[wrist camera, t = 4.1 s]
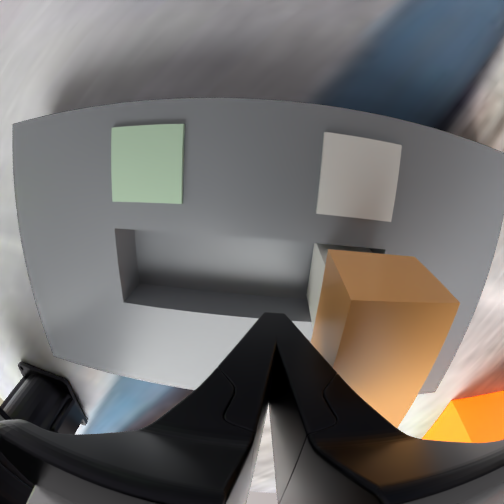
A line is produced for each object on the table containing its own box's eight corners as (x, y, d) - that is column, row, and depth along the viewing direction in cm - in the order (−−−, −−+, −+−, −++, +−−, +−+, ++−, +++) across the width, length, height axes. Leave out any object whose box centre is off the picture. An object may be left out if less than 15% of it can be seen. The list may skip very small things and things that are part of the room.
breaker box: (75, 331, 18) (52, 357, 15) (47, 121, 13) (10, 124, 10) (419, 362, 17) (436, 394, 14) (478, 150, 12) (515, 157, 9)
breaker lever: (297, 313, 15) (309, 435, 8) (311, 214, 13) (351, 299, 6) (354, 316, 14) (395, 429, 8) (375, 221, 13) (460, 303, 6)
